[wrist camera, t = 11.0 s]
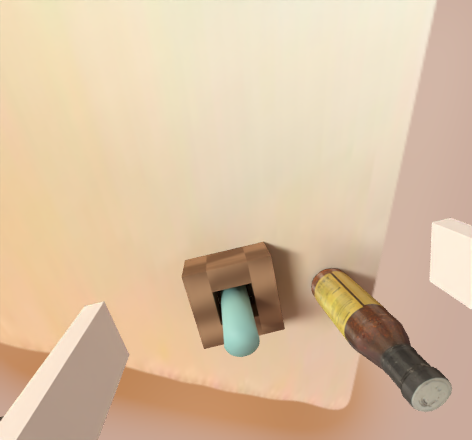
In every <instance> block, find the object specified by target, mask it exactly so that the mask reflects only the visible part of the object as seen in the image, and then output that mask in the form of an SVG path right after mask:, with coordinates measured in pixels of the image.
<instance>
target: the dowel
mask: <svg viewBox="0 0 472 440" xmlns="http://www.w3.org/2000/svg"><path fill="white" fill-rule="evenodd" d="M220 295H221V308H222V322H223V336H224V347H225V349H226V351H227V352H228V353H229V354H231V355H233V356H237V357H243V356H247V355H250V354H252V353H253V352H254V351H255V350H256V349H257V348H258V346H259V335H258V331H257V327H256V323H255V319H254V316H253V312H252V308H251V304H250V300H249V296H248V292H247V288H246V284H245V285H241V286H237V287H232V288H228V289H224V290H220Z"/></svg>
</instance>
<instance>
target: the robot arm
mask: <svg viewBox="0 0 472 440" xmlns="http://www.w3.org/2000/svg"><path fill="white" fill-rule="evenodd" d="M430 282H431V283H433V284H434V285H436V286H437V287H439V288H440V289H442V290H443V291H445V292H446V293H448V294H449V295H451V296H452V297H453V298H455V299H457V300H458V301H459V302H461V303H462V304H464V305H465V306H467V307H468V308H470V309H471V310H472V225H470V224H467V223H464V222H461V221H458V220H456V219H453V218H448V219H443V220H439V221H435V222H432V235H431V259H430ZM128 357H129V353H128V351H127V349H126V347H125V345H124V342H123V340H122V338H121V336H120V334H119V332H118V330H117V328H116V325H115V323H114V321H113V319H112V317H111V315H110V313H109V311H108V308H107V306H106V304H105V302H99V303H95V304H91V305H87V306H84V308H83V309H82V310H81V312H80V313H79V314H78V316H77V317H76V319H75V320H74V321H73V323H72V324H71V325H70V327H69V328H68V329H67V331H66V332H65V334H64V335H63V336H62V338H61V339H60V340H59V342H58V343H57V345H56V346H55V347H54V349H53V350H52V351H51V353H50V354H49V356H48V357H47V358H46V360H45V361H44V362H43V364H42V365H41V366H40V368H39V369H38V371H37V372H36V373H35V375H34V376H33V377H32V379H31V380H30V382H29V383H28V384H27V386H26V387H25V389H24V390H23V391H22V392H21V394H20V395H19V397H18V398H17V399H16V401H15V402H14V403H13V405H12V406H11V408H10V409H9V410H8V412H7V413H6V415H5V416H3V417H0V440H98V438H99V436H100V433H101V430H102V428H103V425H104V422H105V419H106V417H107V414H108V411H109V408H110V405H111V403H112V400H113V398H114V395H115V392H116V390H117V387H118V384H119V381H120V379H121V376H122V373H123V370H124V368H125V365H126V362H127V360H128Z"/></svg>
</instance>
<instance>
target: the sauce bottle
mask: <svg viewBox="0 0 472 440" xmlns="http://www.w3.org/2000/svg"><path fill="white" fill-rule="evenodd" d="M311 288H312V293H313V295H314V296H315V298H316V300H317V302H318V303H319V304H320V306H321V307H322V308H323V310H324V311H325V312H326V314H327V315H328V316H329V318H330V319H331V320H332V321H333V323H334V324H335V325H336V327H337V328H338V329H339V331H340V332H341V333H342V335H343V336H344V337H345V339H346V340H347V341H348V342H349V344H350V345H351V346H352V347H353V348H354V349H355V350H356V351H357V352H359V353H360V354H362V355H363V356H365V357H366V358H367V359H369V360H370V361H372V362H373V363H374V364H376V365H377V366H378V367H380V368H381V369H383V370H384V371H385V373H387V374H388V375H389V376H390V377H391V379H392V380H393V381H394V382H395V383H396V385H397V386H398V387H399V388H400V389H401V392H402V395H403V397H404V398H405V399H406V400H407V401H408V402H409V403H410V404H411V406H412V407H413V408H415V409H417V410H419V411H433V410H435V409H437V408H439V407H440V406H441V405H443V404H444V403H445V402H446V400H447V399H448V398H449V396H450V395H451V391H452V387H451V383H450V382H449V380H448V379H447V378H446V377H445V376H444V375H443V374H442V373H441V372H440V371H439V370H437V369H436V368H434V367H431V366H430V365H429V364H428V363H427V362H426V361H425V360H424V359H423V358H422V357H421V356H420V355H418V354H417V352H416V350H415V349H414V348H413V347H411V345H410V341H409V338H408V335H407V333H406V332H405V330H404V328H403V326H402V324H401V323H400V322H399V321H398V320H396V318H394V317H393V316H392V315H391V314H390V313H389V312H388V311H387V310H386V309H385V308H384V307H383V306H382V305H381V304H380V303H378V302H377V301H376V300H375V299H374V298H373V297H372V296H371V295H369V294H368V293H367V292H366V291H365V290H364V289H363V288H362V287H360V286H359V285H358V284H357V283H356V282H355V281H353V280H352V279H351V278H350V277H349V276H348V275H346V274H345V273H343V272H342V271H341V270H338V269H325V270H322V271H321V272H320V273H318V274H317V275H316V276H315V278H314V279H313V281H312V286H311Z"/></svg>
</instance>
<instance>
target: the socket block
mask: <svg viewBox="0 0 472 440" xmlns="http://www.w3.org/2000/svg"><path fill="white" fill-rule="evenodd" d="M182 280H183V283H184V286H185V289H186V292H187V296H188V299H189V302H190V305H191V308H192V312H193V315H194V318H195V321H196V324H197V328H198V331H199V334H200V337H201V340H202V344H203V347H204V349H206V348H210V347H214V346H218V345H222V344H224V336H223V322H222V308H221V304H220V303H219V299H218V296H217V292H216V291H220V290H224V289H228V288H232V287H237V286H241V285H245V284H249V283H251V288H252V292H253V296H251V297H249V300H250V304H251V308H252V312H253V316H254V319H255V323H256V327H257V331H258V335H263V334H267V333H271V332H275V331H279V330H283V329H285V328H284V322H283V317H282V312H281V306H280V301H279V295H278V290H277V285H276V279H275V274H274V268H273V263H272V258H271V255H270V253H269V251H268V249H267V247H266V245H265V244H264V242H261V243H257V244H252V245H248V246H244V247H240V248H235V249H231V250H227V251H223V252H218V253H214V254H210V255H206V256H201V257H197V258H193V259H189V260H185V264H184V269H183V274H182Z"/></svg>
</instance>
